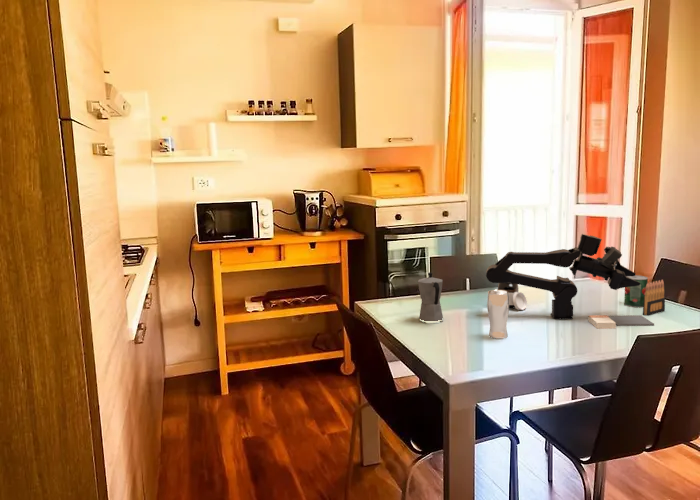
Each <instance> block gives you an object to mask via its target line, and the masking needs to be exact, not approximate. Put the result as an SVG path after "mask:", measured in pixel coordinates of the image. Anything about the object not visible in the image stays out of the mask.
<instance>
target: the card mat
mask: <svg viewBox="0 0 700 500" xmlns="http://www.w3.org/2000/svg"><path fill="white" fill-rule="evenodd" d="M607 316H608V317H609V318H610V319H612V320H613V321H614V322H615V323H616V327H621V326H622V327H629V326H631V327H632V326H636V327H637V326H638V327H640V326H643V327H644V326H651V327H652V326H655V323H653V322H652V321H651V320H649V319H647V318H646V317H644V315H643V314H642V315H640V314H639V315H637V314H636V315H630V314H629V315H623V314H622V315H607Z"/></svg>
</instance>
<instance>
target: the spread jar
mask: <svg viewBox="0 0 700 500" xmlns="http://www.w3.org/2000/svg"><path fill="white" fill-rule="evenodd" d="M497 290H505V291H508V292H509V308H513V309H517V310H518V311H524V310H526V308H527V306H528V300H527V297H526V295H525V294H524V293H523V292H521V291H519V284H514V283H497Z"/></svg>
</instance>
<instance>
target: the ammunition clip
mask: <svg viewBox="0 0 700 500" xmlns="http://www.w3.org/2000/svg"><path fill="white" fill-rule="evenodd" d="M665 308H666V298H665V283H664V279H661V280H660V279H659V280H655V281H652V282H651V281H649V282H648V283H647V285H646V292H645V301H644V303H643V307H642V316H646V317H649V316H651V315H656V314H659V313H664V312H666V311H665V310H666V309H665Z"/></svg>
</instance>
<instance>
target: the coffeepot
mask: <svg viewBox="0 0 700 500" xmlns="http://www.w3.org/2000/svg"><path fill="white" fill-rule="evenodd" d="M427 274H428V277H423V278H419V279H418V280H417V284H418V290H419V295H420V299H421V304H420V309H419V311H420V312H419V318H418V320H419V319H421V320H424V321H438V320H442V318H443V319H444V317H443V316H444V315H443V311H442V310H443V309H442V303H441V301H440V300H441V296H442V288H443V279H442V278H441V279H440V278H436V277H433V272H428V273H427Z"/></svg>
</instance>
